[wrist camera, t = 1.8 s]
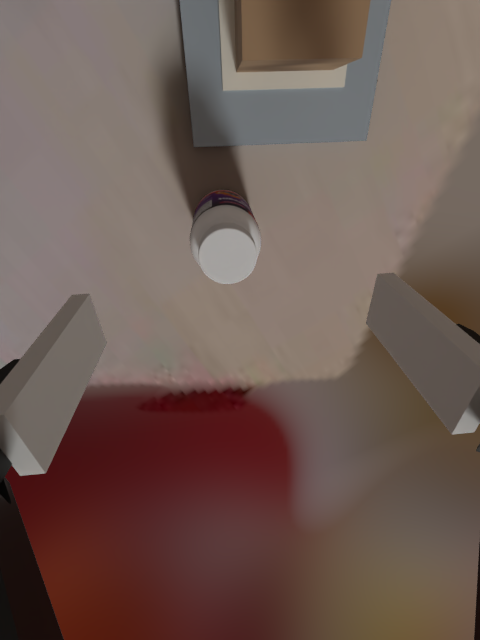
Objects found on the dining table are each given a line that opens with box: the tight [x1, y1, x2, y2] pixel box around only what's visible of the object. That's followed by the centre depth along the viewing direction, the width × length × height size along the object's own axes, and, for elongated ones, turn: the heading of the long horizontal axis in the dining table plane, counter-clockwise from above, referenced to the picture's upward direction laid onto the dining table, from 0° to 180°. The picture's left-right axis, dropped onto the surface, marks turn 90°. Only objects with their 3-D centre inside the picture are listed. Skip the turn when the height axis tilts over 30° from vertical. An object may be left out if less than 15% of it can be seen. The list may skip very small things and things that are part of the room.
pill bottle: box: [190, 190, 261, 284], centre depth 24 cm, size 5×5×10 cm
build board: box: [180, 0, 391, 147], centre depth 20 cm, size 14×16×1 cm
